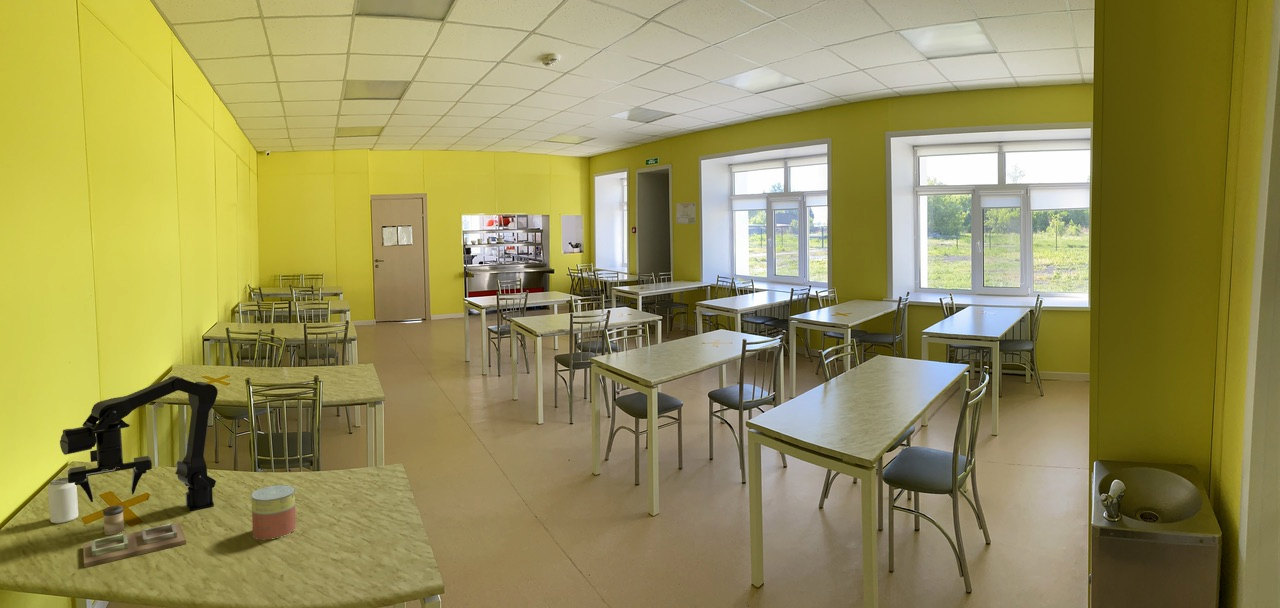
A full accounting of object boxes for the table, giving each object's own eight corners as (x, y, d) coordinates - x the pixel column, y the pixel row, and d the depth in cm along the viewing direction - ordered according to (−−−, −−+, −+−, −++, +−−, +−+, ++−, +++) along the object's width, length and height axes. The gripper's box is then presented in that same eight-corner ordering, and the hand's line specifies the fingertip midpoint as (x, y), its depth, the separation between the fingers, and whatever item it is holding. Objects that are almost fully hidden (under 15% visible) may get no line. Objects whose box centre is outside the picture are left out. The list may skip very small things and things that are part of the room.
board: (179, 526, 198) (179, 517, 198) (186, 543, 188) (185, 534, 187) (83, 547, 184) (82, 538, 184) (84, 567, 173) (83, 557, 173)
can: (62, 525, 197) (59, 485, 196) (44, 522, 198) (41, 483, 197) (84, 516, 203) (81, 478, 202) (67, 513, 205) (64, 476, 204)
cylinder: (123, 527, 197) (122, 504, 196) (124, 532, 193) (123, 509, 193) (104, 531, 194) (102, 508, 193) (104, 536, 191) (103, 513, 190)
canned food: (304, 528, 199) (303, 489, 198) (269, 543, 189) (268, 502, 188) (279, 520, 204) (277, 482, 203) (243, 535, 194) (242, 495, 193)
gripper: (147, 432, 203) (150, 482, 205) (66, 444, 191) (70, 496, 193) (150, 441, 195) (153, 493, 196) (66, 454, 183) (70, 509, 184)
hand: (112, 497), depth 193 cm, fingers open, 9 cm apart
